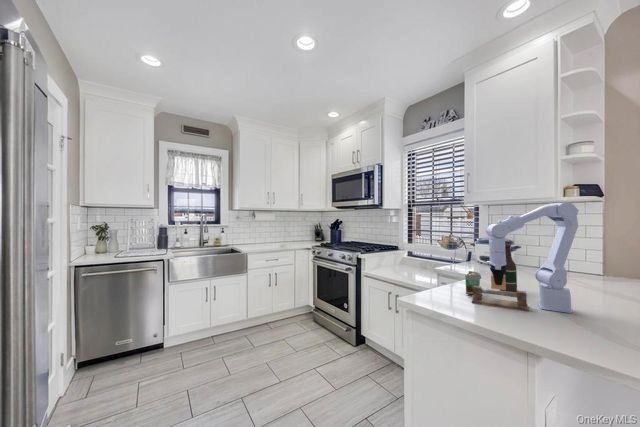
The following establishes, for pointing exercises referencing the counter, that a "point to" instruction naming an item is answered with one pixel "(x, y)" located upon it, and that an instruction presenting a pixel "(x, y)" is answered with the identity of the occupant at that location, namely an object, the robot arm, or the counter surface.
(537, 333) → the counter surface
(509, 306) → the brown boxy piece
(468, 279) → the food container
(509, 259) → the beer bottle
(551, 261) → the robot arm
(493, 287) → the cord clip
